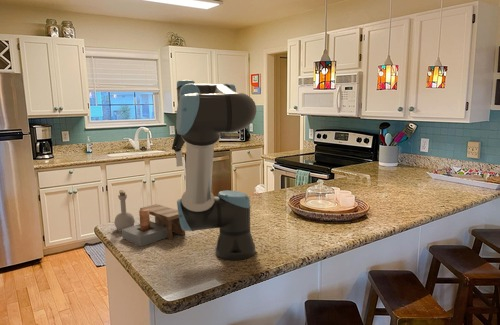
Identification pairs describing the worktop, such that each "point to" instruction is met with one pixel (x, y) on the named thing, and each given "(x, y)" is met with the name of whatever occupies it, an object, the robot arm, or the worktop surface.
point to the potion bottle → (123, 214)
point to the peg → (144, 220)
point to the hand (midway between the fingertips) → (189, 167)
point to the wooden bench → (166, 218)
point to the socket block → (145, 234)
